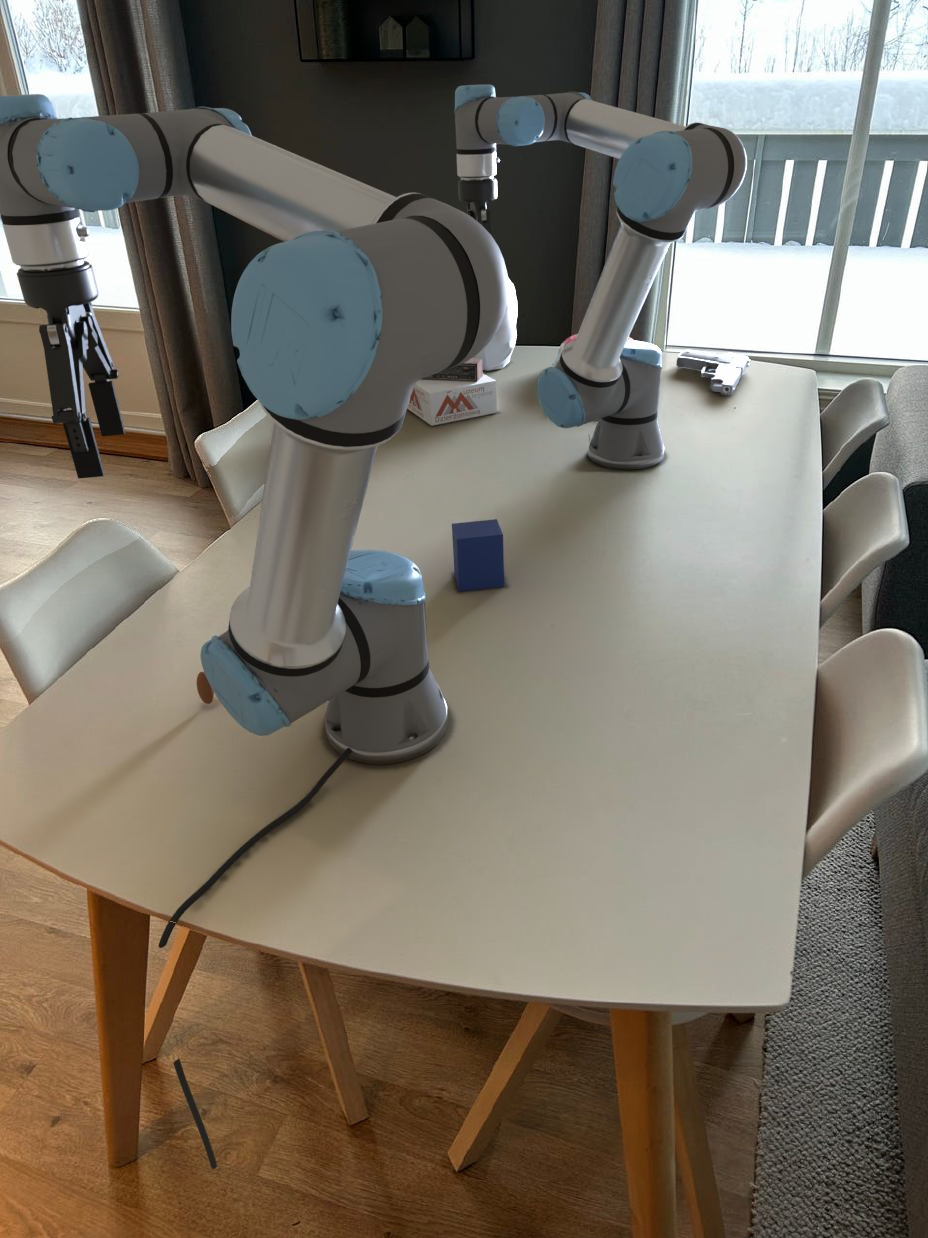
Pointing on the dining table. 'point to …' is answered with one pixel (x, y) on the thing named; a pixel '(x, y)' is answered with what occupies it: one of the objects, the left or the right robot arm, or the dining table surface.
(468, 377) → the white cardboard box
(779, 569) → the dining table surface
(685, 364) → the pistol
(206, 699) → the brown ellipsoid
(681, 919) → the dining table surface
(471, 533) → the block
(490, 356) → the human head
